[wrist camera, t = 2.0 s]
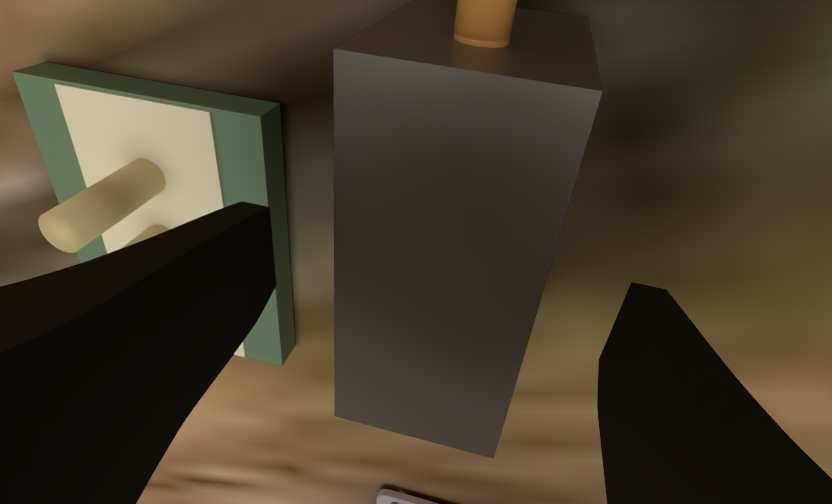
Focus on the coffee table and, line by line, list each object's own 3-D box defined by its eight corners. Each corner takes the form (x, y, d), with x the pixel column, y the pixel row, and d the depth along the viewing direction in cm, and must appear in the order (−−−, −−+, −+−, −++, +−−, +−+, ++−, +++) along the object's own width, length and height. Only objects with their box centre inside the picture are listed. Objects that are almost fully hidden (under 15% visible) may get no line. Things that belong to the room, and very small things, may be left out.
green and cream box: (280, 103, 15) (181, 170, 11) (295, 344, 21) (233, 444, 17) (45, 61, 16) (-117, 110, 12) (120, 301, 22) (25, 385, 18)
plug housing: (639, -183, 10) (708, -265, 5) (514, 302, 17) (493, 458, 12) (439, -199, 11) (332, -287, 6) (397, 276, 18) (334, 416, 13)
